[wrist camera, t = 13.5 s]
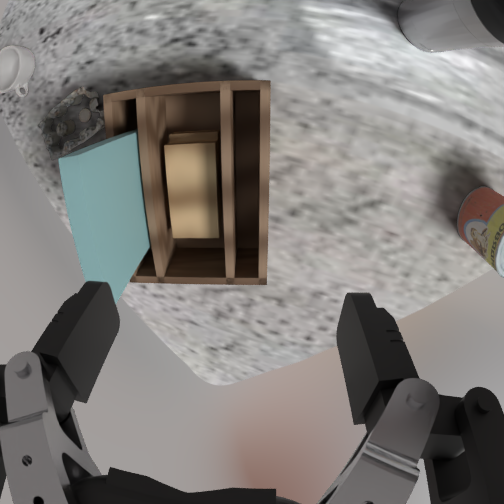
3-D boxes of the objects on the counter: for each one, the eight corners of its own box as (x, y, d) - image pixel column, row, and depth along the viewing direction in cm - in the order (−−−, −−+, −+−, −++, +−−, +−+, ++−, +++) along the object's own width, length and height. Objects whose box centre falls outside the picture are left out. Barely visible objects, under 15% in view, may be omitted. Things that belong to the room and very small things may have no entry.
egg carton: (97, 83, 34) (83, 83, 31) (114, 126, 38) (101, 130, 34) (46, 117, 36) (31, 121, 33) (62, 157, 40) (48, 164, 36)
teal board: (142, 126, 36) (58, 158, 19) (156, 125, 36) (78, 155, 19) (152, 222, 43) (94, 308, 26) (165, 222, 43) (112, 309, 26)
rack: (133, 93, 35) (103, 94, 27) (266, 84, 35) (270, 80, 27) (150, 248, 47) (130, 282, 38) (264, 249, 47) (266, 284, 38)
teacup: (5, 67, 30) (-15, 68, 26) (33, 37, 29) (13, 35, 24) (22, 109, 35) (2, 113, 30) (51, 80, 33) (31, 81, 28)
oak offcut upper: (169, 142, 35) (164, 145, 33) (217, 139, 35) (215, 142, 33) (177, 230, 41) (172, 238, 39) (220, 229, 41) (218, 238, 39)
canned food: (455, 194, 42) (498, 224, 31) (499, 180, 40) (542, 205, 29) (457, 251, 47) (492, 287, 36) (498, 234, 45) (534, 265, 34)
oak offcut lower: (174, 132, 37) (169, 134, 35) (219, 129, 37) (217, 131, 35) (180, 216, 43) (176, 223, 40) (222, 215, 43) (220, 222, 40)
